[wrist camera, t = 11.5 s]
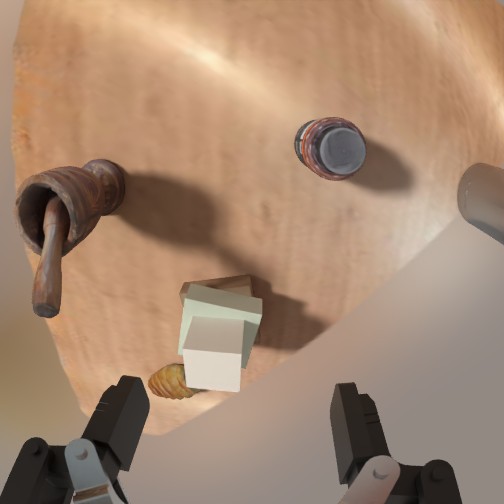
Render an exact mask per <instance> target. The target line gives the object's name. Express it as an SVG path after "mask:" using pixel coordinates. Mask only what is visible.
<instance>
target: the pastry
mask: <svg viewBox="0 0 504 504" xmlns="http://www.w3.org/2000/svg"><path fill="white" fill-rule="evenodd" d="M148 387H149V388H150V390H151V391H152V393H153V394H155V395H157V396H160V397H165V398H171V399H176V398H177V399H180V400H181V399H183V398H184V397H186V398H190V397H192V396H193V395H194V394H195V393H197V392H198V391H200V390H201V389H198V388H190V387H187V385H186V377H185V368H184V366H183V365H180V364H172V365H169V366H165V367H163V368H162V369H160V370H159V371H157V372H156V373H155V374H153V375H152V376H151V378H150V379H149V381H148Z"/></svg>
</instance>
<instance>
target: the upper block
mask: <svg viewBox="0 0 504 504" xmlns="http://www.w3.org/2000/svg"><path fill="white" fill-rule="evenodd" d="M193 316H201V317H213V318H226V319H239V320H244V331H243V348H242V364H241V368H244V369H246V365H247V362H248V359H249V356H250V353H251V350H252V346H253V343H254V340H255V337H256V334H257V330H258V327H259V324H260V321H261V317H262V299H260V298H255V297H251V296H246V295H241V294H236V293H232V292H227V291H223V290H218V289H214V288H209V287H205V286H200V285H196V284H192V283H191V284H190V287H189V289H188V292H187V294H186V297H185V301H184V308H183V316H182V323H181V331H180V339H179V348H178V355H182V356H183V346H184V342H185V339H186V336H187V333H188V330H189V327H190V323H191V320H192V317H193Z"/></svg>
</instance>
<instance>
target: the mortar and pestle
mask: <svg viewBox="0 0 504 504" xmlns="http://www.w3.org/2000/svg"><path fill="white" fill-rule="evenodd" d="M123 197H124V180H123V176H122V174H121V172H120V171H119V169H118V168H117V167H116V166H115V165H113V164H112V163H110V162H109V161H106V160H103V159H97V160H91V161H90V162H88V163H87V164H86V165H84V166H83V167H82V168H78V167H72V166H67V167H59V168H55V169H51V170H48V171H45V172H42V173H39V174H36V175H33V176H30V177H29V178H27V179H26V180H25V181H24V182H23V183H22V184H21V186H20V187H19V189H18V194H17V196H16V198H15V210H14V215H15V221H16V226H17V228H18V230H19V233H20V236H21V237H22V239H23V241H24V242H25V243H26V244H27V245H28V247H29V248H30V249H32V250H33V251H34V253H36V254H38V255H40V256H41V258H40V262H39V265H38V268H37V272H36V276H35V280H34V285H33V292H32V304H33V310H34V312H35V313H36V314H37V315H38V316H40V317H45V318H52V317H54V316H56V315H57V314H58V313H59V310H60V305H61V293H62V272H61V259H62V257H64V256H65V255H66V254H68V253H69V252H70V251H71V250H72V249H73V248H74V247H75V246H77V245H78V244H79V243H80V242H81V241H82V240H84V239H85V238H86V237H87V236H88V235H89V234H90V233H91V232H92V230H93V229H94V228H95V226H96V225H97V223H98V221H99V219H100V217H101V216H104V215H107V214H109V213H111V212H112V211H114V210H115V209H116V208H117V207H118V206H119V205H120V204H121V202H122V200H123Z"/></svg>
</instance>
